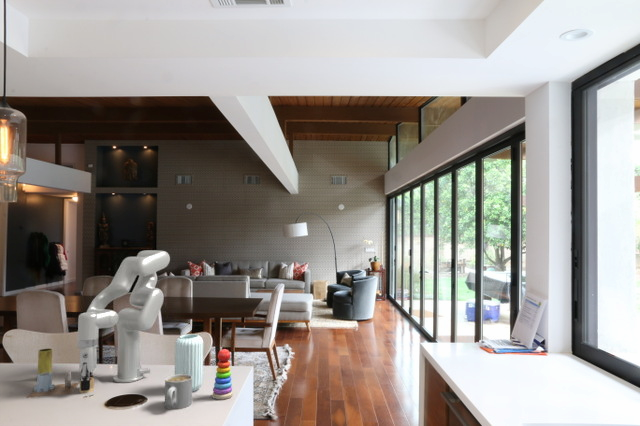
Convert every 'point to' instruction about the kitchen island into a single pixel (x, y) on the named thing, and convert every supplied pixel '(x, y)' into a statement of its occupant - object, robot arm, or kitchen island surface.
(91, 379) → the oak gear
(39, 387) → the gear
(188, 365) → the vase
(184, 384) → the coffee mug
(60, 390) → the board
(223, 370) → the stacking toy
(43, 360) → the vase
